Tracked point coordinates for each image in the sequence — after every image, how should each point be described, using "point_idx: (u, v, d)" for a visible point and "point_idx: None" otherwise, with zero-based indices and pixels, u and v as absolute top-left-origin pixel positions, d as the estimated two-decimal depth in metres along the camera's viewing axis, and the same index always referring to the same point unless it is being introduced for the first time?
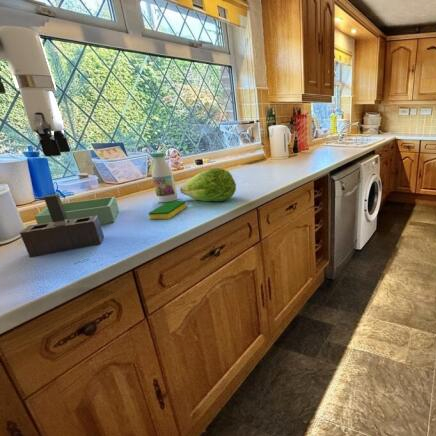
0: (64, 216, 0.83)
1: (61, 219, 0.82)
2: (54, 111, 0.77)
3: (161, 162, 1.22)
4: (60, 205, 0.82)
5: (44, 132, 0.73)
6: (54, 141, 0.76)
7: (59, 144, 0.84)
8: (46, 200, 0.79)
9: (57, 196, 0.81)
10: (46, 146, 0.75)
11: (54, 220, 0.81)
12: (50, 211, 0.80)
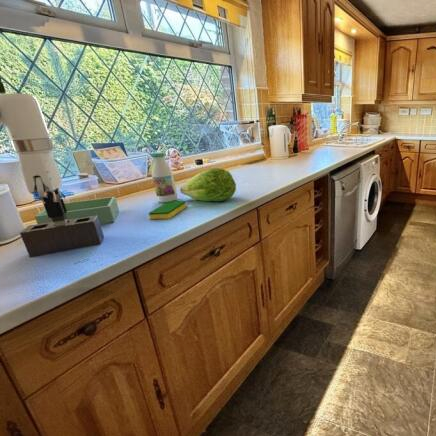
0: (64, 216, 0.83)
1: (61, 219, 0.82)
2: (52, 171, 0.78)
3: (161, 162, 1.22)
4: None
5: (49, 198, 0.77)
6: (57, 203, 0.80)
7: None
8: None
9: (57, 196, 0.81)
10: (50, 209, 0.79)
11: (54, 220, 0.81)
12: None
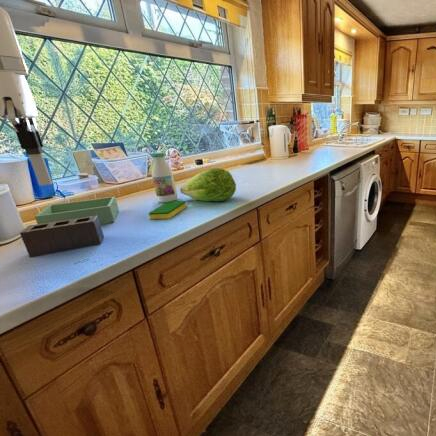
0: (40, 149, 0.76)
1: (36, 152, 0.76)
2: (25, 96, 0.72)
3: (161, 162, 1.22)
4: None
5: (21, 125, 0.71)
6: (31, 133, 0.74)
7: None
8: None
9: (32, 126, 0.75)
10: (23, 138, 0.73)
11: (28, 153, 0.75)
12: None
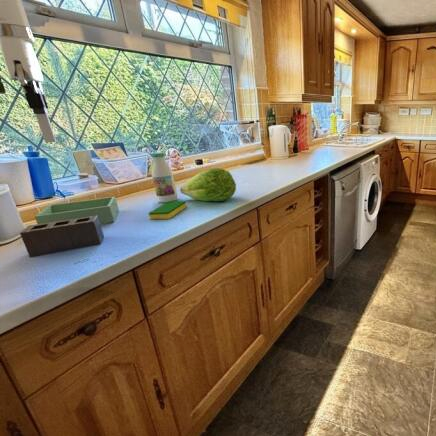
0: (45, 110, 0.87)
1: (42, 112, 0.86)
2: (32, 61, 0.82)
3: (161, 162, 1.22)
4: None
5: (29, 86, 0.82)
6: (38, 95, 0.85)
7: None
8: None
9: (38, 89, 0.85)
10: (30, 99, 0.84)
11: (35, 112, 0.86)
12: None
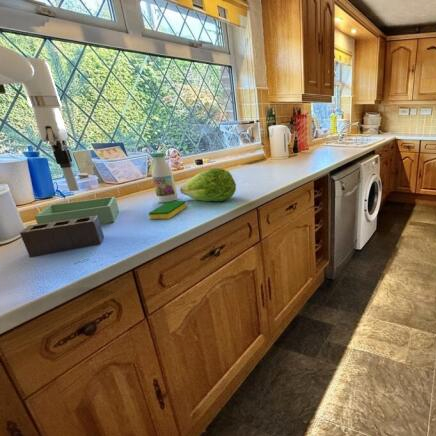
0: (70, 164, 1.00)
1: (67, 166, 0.99)
2: (60, 124, 0.95)
3: (161, 162, 1.22)
4: (67, 154, 0.98)
5: (57, 146, 0.94)
6: (64, 152, 0.97)
7: None
8: None
9: (64, 146, 0.98)
10: (58, 156, 0.96)
11: (62, 166, 0.98)
12: None
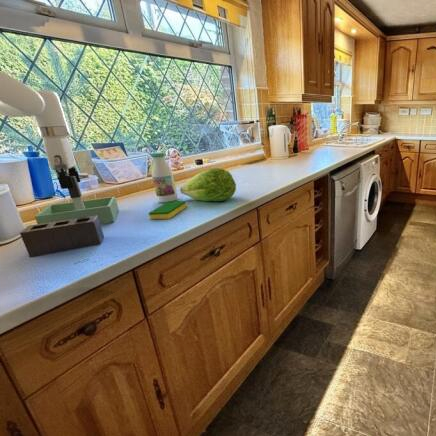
0: (80, 194, 1.03)
1: (77, 196, 1.02)
2: (69, 153, 0.97)
3: (161, 162, 1.22)
4: (77, 185, 1.02)
5: (61, 171, 0.93)
6: (69, 177, 0.97)
7: None
8: None
9: (74, 177, 1.01)
10: (62, 181, 0.96)
11: (72, 197, 1.02)
12: (69, 189, 1.01)
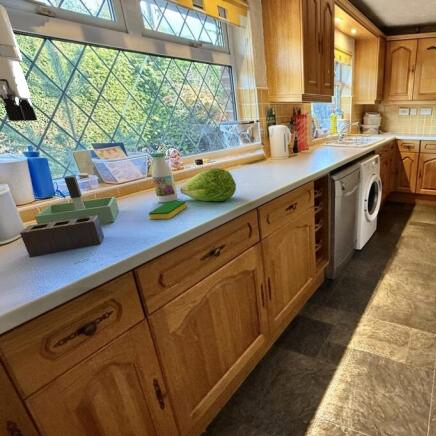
0: (80, 194, 1.03)
1: (77, 196, 1.02)
2: (19, 79, 0.83)
3: (161, 162, 1.22)
4: (77, 185, 1.02)
5: (8, 97, 0.79)
6: (18, 107, 0.82)
7: (26, 113, 0.90)
8: (66, 180, 1.00)
9: (74, 177, 1.01)
10: (10, 111, 0.81)
11: (72, 197, 1.02)
12: (69, 189, 1.01)
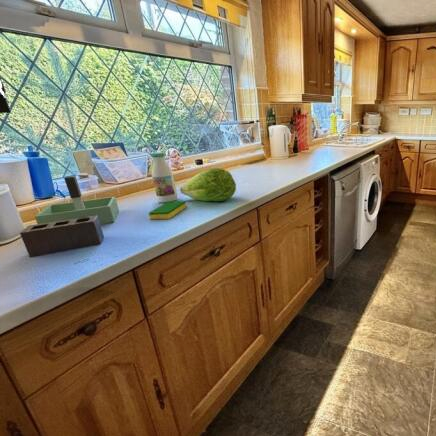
0: (80, 194, 1.03)
1: (77, 196, 1.02)
2: None
3: (161, 162, 1.22)
4: (77, 185, 1.02)
5: None
6: None
7: None
8: (66, 180, 1.00)
9: (74, 177, 1.01)
10: None
11: (72, 197, 1.02)
12: (69, 189, 1.01)
